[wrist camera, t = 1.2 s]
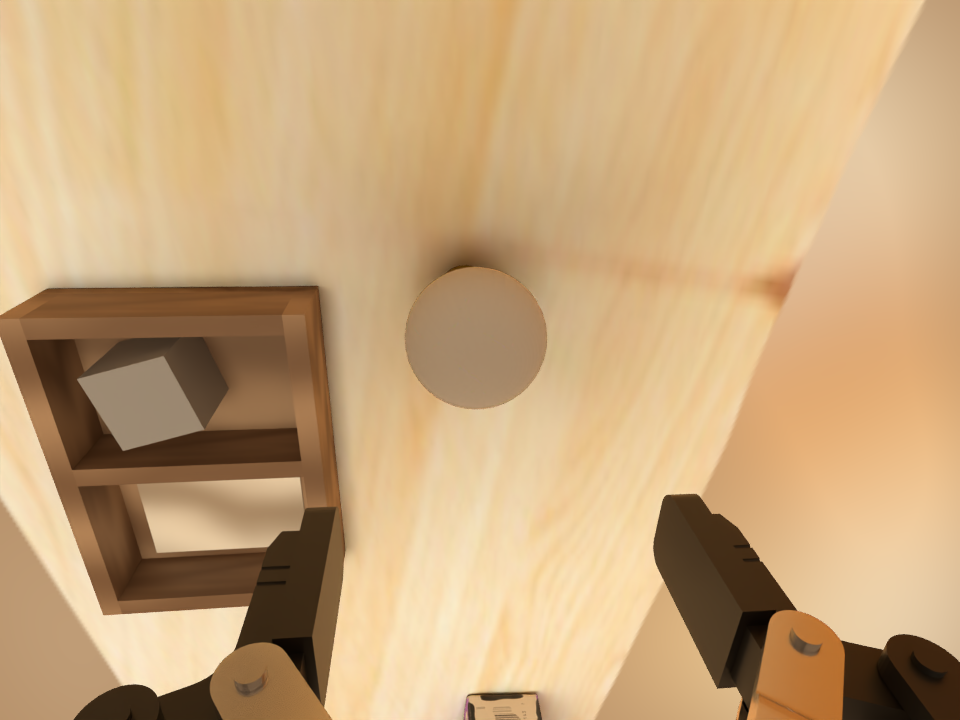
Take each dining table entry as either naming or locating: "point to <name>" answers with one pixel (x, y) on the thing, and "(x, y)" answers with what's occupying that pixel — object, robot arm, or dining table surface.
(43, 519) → the dining table surface
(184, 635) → the dining table surface
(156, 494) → the box
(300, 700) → the robot arm
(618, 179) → the dining table surface
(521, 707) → the candy box
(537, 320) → the light bulb
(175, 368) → the grey cube
